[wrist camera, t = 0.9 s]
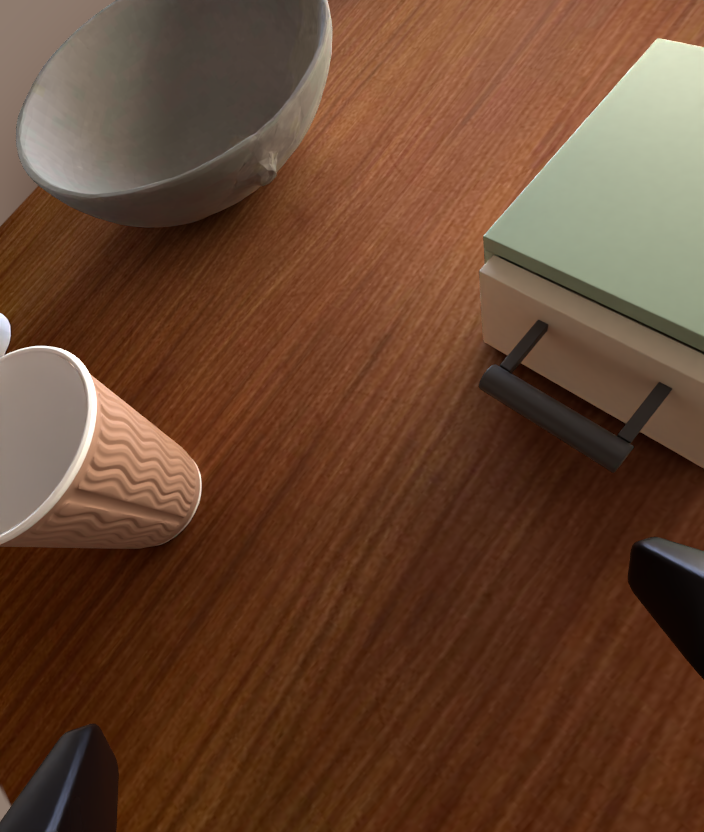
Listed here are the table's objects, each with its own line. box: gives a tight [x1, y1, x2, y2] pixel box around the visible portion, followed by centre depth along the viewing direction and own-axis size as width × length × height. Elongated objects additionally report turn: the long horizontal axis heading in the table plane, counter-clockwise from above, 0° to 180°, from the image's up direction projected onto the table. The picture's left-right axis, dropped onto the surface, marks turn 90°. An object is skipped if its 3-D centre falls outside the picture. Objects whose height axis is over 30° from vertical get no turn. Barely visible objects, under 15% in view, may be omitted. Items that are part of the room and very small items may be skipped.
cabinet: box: [483, 38, 704, 352], centre depth 25 cm, size 15×15×9 cm
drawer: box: [479, 255, 704, 473], centre depth 25 cm, size 18×14×7 cm
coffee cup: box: [0, 346, 202, 549], centre depth 28 cm, size 10×10×12 cm
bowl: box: [16, 0, 332, 228], centre depth 41 cm, size 26×26×10 cm
